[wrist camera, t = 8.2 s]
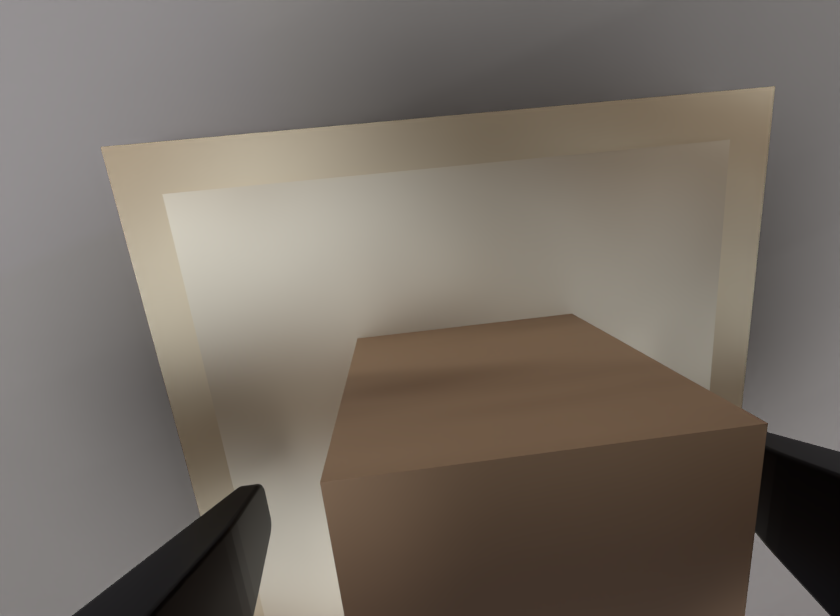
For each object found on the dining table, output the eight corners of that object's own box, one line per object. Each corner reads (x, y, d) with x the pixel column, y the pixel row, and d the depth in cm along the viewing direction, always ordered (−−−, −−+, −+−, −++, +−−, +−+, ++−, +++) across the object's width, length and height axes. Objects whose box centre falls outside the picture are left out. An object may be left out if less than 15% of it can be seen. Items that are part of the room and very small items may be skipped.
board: (675, 549, 14) (723, 606, 12) (265, 607, 13) (242, 680, 11) (704, 109, 11) (779, 84, 8) (157, 159, 10) (97, 146, 8)
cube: (573, 496, 11) (729, 740, 6) (383, 522, 10) (378, 799, 5) (572, 313, 9) (768, 423, 4) (357, 338, 9) (320, 482, 4)
